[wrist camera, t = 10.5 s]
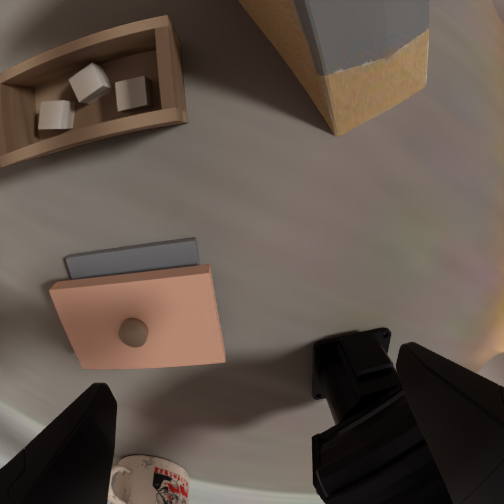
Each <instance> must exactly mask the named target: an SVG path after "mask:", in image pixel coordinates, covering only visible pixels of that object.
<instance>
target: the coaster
mask: <svg viewBox="0 0 504 504" xmlns="http://www.w3.org/2000/svg"><path fill="white" fill-rule="evenodd" d="M65 259H66V262H67V265H68V268H69V272H70V275H71V278H72V280H77V279H86V278H95V277H103V276H112V275H121V274H130V273H138V272H147V271H156V270H164V269H173V268H181V267H190V266H198V265H200V261H199V256H198V250H197V244H196V238H195V237H193V238H186V239H178V240H171V241H163V242H156V243H148V244H141V245H134V246H127V247H120V248H113V249H106V250H99V251H92V252H85V253H79V254H72V255H68V256H67V257H66V258H65Z"/></svg>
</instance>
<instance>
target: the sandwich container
mask: <svg viewBox="0 0 504 504" xmlns="http://www.w3.org/2000/svg"><path fill="white" fill-rule="evenodd" d="M238 1H239V2H240V4H241V5H242V6H243V8H244V9H245V10H246V12H247V13H248V14H249V16H250V17H251V18H252V20H253V21H254V22H255V23H256V24H257V25H258V27H259V28H260V29H261V30H262V32H263V33H264V34H265V35H266V37H267V38H268V39H269V41H270V42H271V43H272V45H273V46H274V47H275V48H276V50H277V51H278V52H279V54H280V55H281V56H282V58H283V59H284V61H285V62H286V63H287V65H288V66H289V67H290V69H291V70H292V72H293V73H294V74H295V76H296V77H297V79H298V80H299V82H300V83H301V84H302V86H303V87H304V89H305V90H306V92H307V93H308V95H309V96H310V98H311V99H312V101H313V102H314V104H315V105H316V107H317V108H318V110H319V112H320V113H321V115H322V116H323V118H324V119H325V121H326V123H327V124H328V126H329V127H330V129H331V131H332V132H333V134H334V136H336V137H338V136H341V135H343V134H345V133H347V132H348V131H350V130H352V129H354V128H356V127H358V126H359V125H361V124H363V123H365V122H367V121H369V120H371V119H373V118H375V117H376V116H378V115H380V114H382V113H384V112H386V111H388V110H389V109H391V108H392V107H394V106H396V105H397V104H399V103H400V102H402V101H404V100H405V99H407V98H408V97H410V96H412V95H413V94H415V93H417V92H418V91H420V90H421V89H423V88H424V87H425V86H426V78H427V63H428V45H429V14H430V0H238Z"/></svg>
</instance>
